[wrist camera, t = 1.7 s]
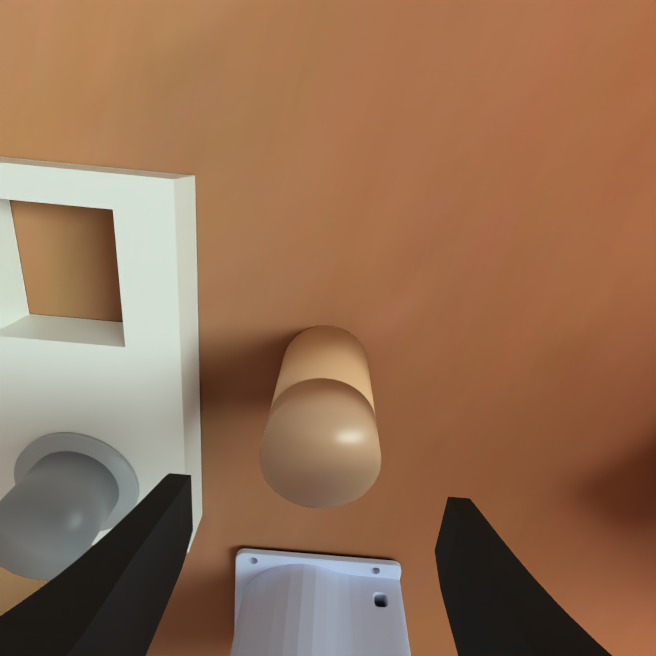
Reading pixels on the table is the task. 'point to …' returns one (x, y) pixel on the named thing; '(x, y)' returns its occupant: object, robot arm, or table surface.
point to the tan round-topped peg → (322, 422)
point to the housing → (97, 370)
